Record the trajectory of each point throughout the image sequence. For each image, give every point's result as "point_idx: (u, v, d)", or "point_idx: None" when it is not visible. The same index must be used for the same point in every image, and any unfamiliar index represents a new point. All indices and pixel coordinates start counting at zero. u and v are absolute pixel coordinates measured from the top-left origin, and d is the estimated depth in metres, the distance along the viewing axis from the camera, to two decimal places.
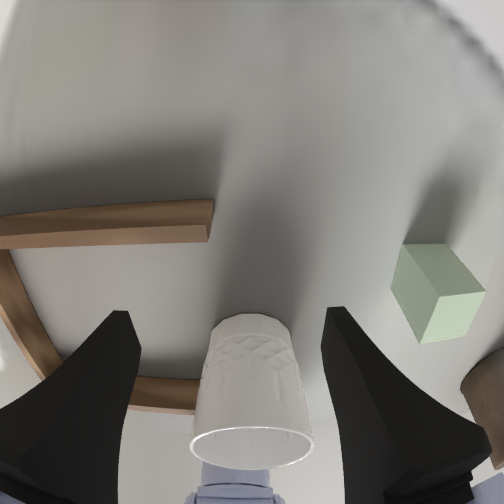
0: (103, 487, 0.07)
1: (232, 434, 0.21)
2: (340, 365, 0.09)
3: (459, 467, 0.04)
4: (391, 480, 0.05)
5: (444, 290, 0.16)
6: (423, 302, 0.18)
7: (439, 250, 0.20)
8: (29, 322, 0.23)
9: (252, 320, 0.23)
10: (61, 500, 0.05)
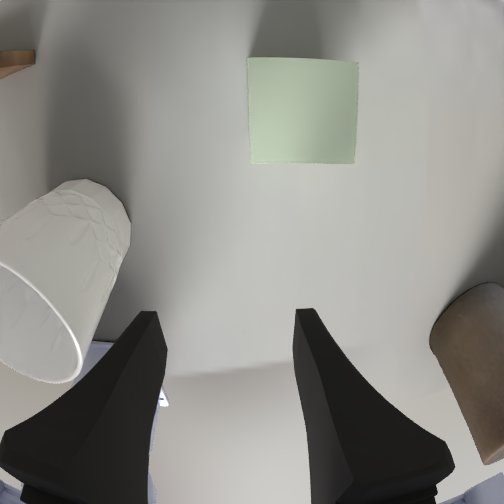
0: (136, 494, 0.07)
1: (38, 332, 0.15)
2: (305, 368, 0.09)
3: (415, 482, 0.04)
4: (341, 490, 0.05)
5: None
6: None
7: None
8: None
9: (72, 183, 0.17)
10: None
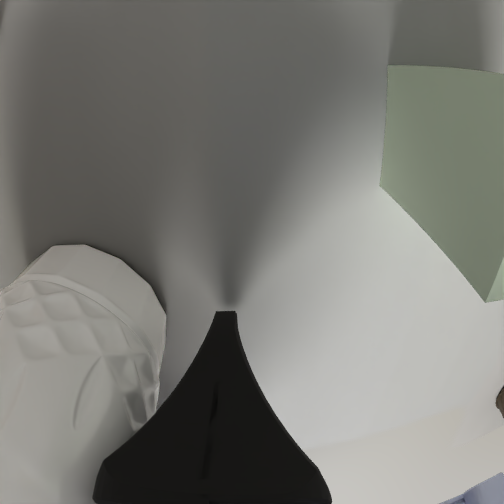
0: None
1: None
2: None
3: None
4: None
5: None
6: (479, 149, 0.04)
7: None
8: None
9: (61, 254, 0.10)
10: None
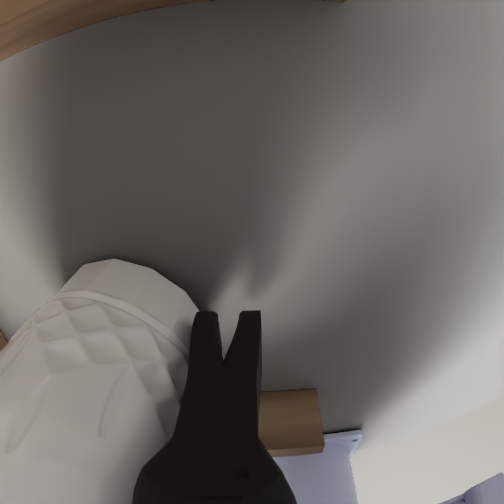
0: None
1: None
2: None
3: None
4: None
5: None
6: None
7: None
8: None
9: (91, 271, 0.10)
10: None
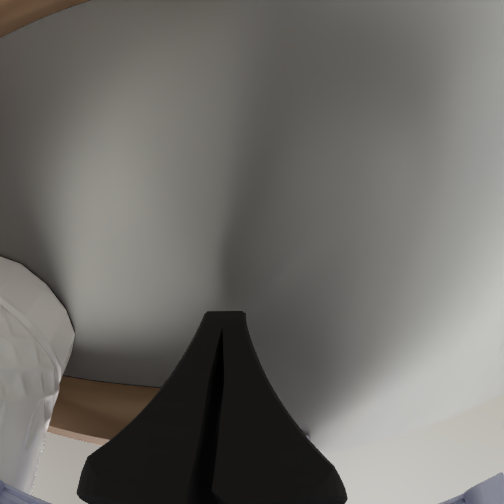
0: (217, 503, 0.07)
1: None
2: None
3: None
4: None
5: None
6: None
7: None
8: None
9: None
10: None
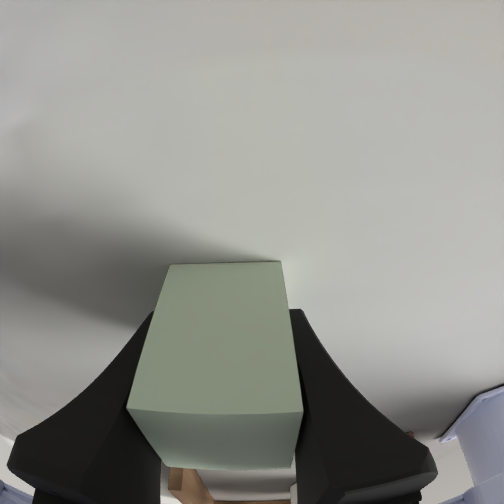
0: (149, 496, 0.07)
1: None
2: None
3: (395, 488, 0.04)
4: (320, 493, 0.05)
5: None
6: None
7: None
8: None
9: None
10: None
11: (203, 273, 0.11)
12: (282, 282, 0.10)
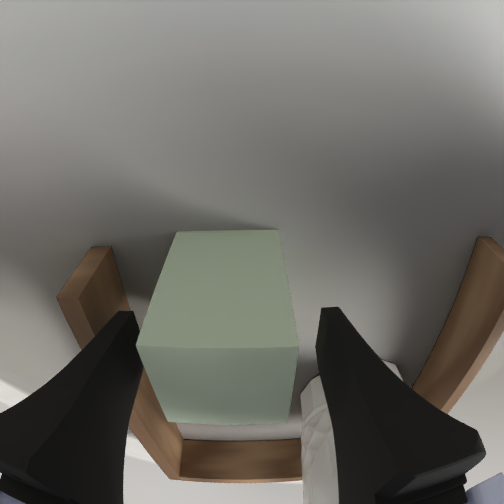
0: (109, 488, 0.07)
1: None
2: (334, 366, 0.09)
3: (451, 470, 0.04)
4: (382, 482, 0.05)
5: None
6: None
7: None
8: (295, 454, 0.21)
9: (301, 409, 0.18)
10: (68, 502, 0.05)
11: (208, 238, 0.12)
12: (279, 245, 0.11)
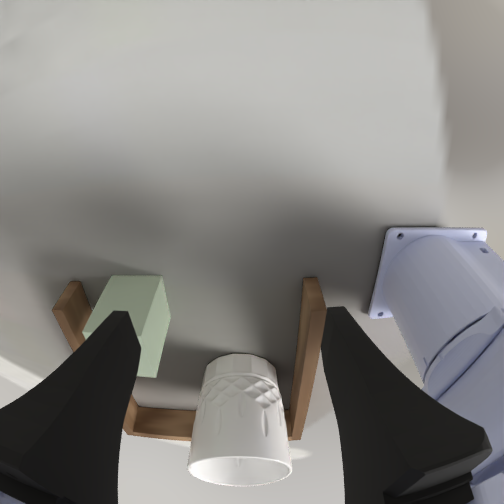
0: (103, 487, 0.07)
1: None
2: (340, 365, 0.09)
3: (459, 467, 0.04)
4: (391, 480, 0.05)
5: None
6: None
7: None
8: None
9: None
10: (61, 500, 0.05)
11: (125, 280, 0.22)
12: (157, 285, 0.21)
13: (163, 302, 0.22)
